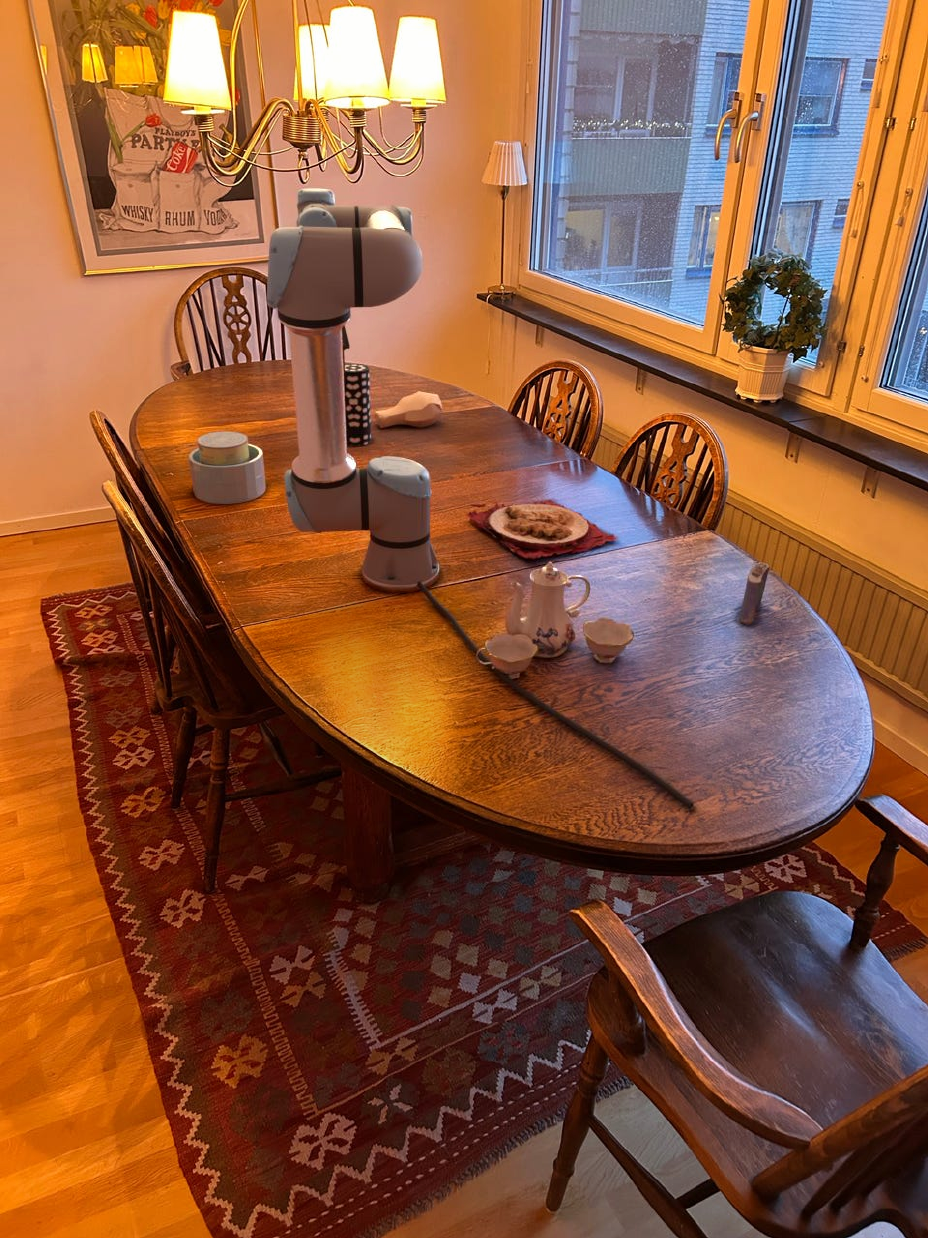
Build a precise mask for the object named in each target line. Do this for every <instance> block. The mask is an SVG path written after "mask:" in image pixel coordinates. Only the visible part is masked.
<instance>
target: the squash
mask: <svg viewBox="0 0 928 1238" xmlns="http://www.w3.org/2000/svg"><path fill="white" fill-rule="evenodd" d="M442 414H443V405H442V401H441V399H440V396H439V394H435V393H429V392H423V391H420V390H418V391H417V392H414V393H412V394H410V395H407V396H404V397H402V398H401V399H400V400H399V401H398V403H397V404H396V405H394V406H393V407H391V408H388V409H383V410H376V411H374V420H375V422H376V423H377V425H378V426H379V428H380V429H385V428H387V427H391V426H396V425H407V426H410V427H416V428H425V427H431V426H432V425H433V424H435V423H437V422H438V421H439V420H441V418H442Z"/></svg>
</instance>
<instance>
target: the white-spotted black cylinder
mask: <svg viewBox="0 0 928 1238" xmlns="http://www.w3.org/2000/svg"><path fill="white" fill-rule="evenodd" d="M370 380H371V379H370V367H369V366H368V365H366V364H364V363H363V364H362V363H345V381H344V393H345V416H346V439H347V446H351V447H360V446H366V445H369V444H370V443H371V442H372V419H371V418H372V417H371V382H370Z"/></svg>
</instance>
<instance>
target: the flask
mask: <svg viewBox="0 0 928 1238" xmlns="http://www.w3.org/2000/svg"><path fill="white" fill-rule="evenodd" d="M770 568H771V566H770V565H769V564H768V563H766V562H762V561H757V560H755V561H753V566H752V568H751V569H750V571H749V573H748V576H747V581H746V583H745V590H744V595H743V598H742V603H741V607H740V612H739V616H738V622H739V623H740V624H741V625H747V626H749V625H751V624H752V623H754V619H755V618H756V614H758V612H757V611H759V609H760V608H761V604H762V600H763V595H764V591H765V588H766V583H767V579H768V575H769V571H770Z"/></svg>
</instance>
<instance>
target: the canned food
mask: <svg viewBox="0 0 928 1238" xmlns="http://www.w3.org/2000/svg"><path fill="white" fill-rule="evenodd" d="M197 444H198V448H199V453H200V461H201V464H205V465H210V466H231V465H238V464H243V463H246V462H249V461H250V460H249V450H248V444H249V437H248V436H247V435H246V434H245V433H242V432H240V431H239V432H238V431H232V430H221V431H219V430H218V431H213V432H208V433H205V434H203V435H201V436H199V437H198V438H197Z"/></svg>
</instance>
